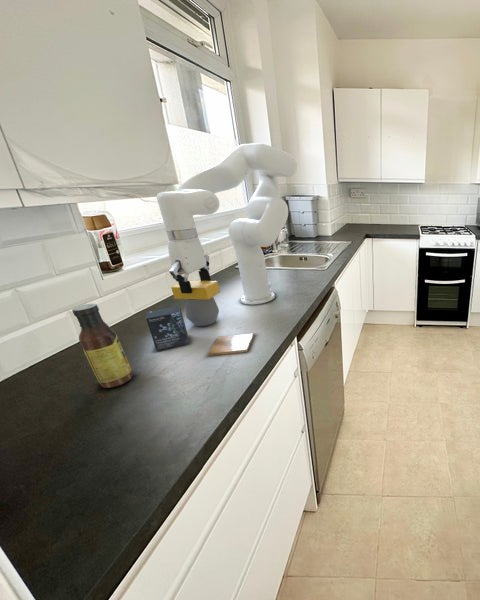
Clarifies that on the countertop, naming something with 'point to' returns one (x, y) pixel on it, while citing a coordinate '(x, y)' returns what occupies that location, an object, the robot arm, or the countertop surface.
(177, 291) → the block
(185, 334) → the box
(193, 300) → the cup
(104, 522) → the countertop surface
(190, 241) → the robot arm
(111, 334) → the sauce bottle
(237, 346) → the plate
